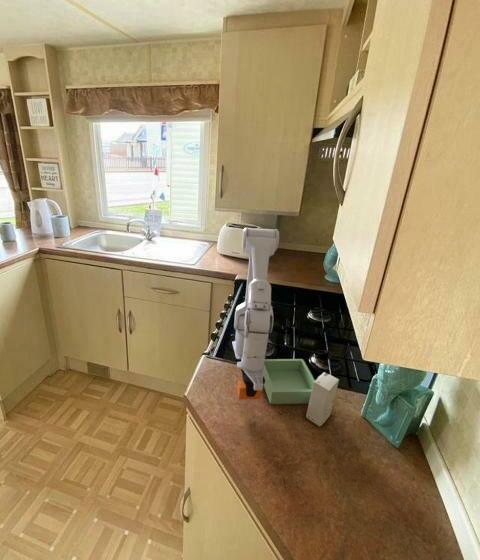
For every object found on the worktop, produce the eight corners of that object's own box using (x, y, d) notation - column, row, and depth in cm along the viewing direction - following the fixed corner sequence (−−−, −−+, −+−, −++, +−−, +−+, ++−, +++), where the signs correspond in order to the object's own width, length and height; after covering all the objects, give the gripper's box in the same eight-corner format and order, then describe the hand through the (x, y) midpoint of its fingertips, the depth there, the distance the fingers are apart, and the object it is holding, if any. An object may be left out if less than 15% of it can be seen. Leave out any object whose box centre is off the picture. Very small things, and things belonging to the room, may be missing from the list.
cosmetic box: (320, 427, 80) (330, 392, 75) (304, 417, 83) (312, 382, 78) (331, 414, 84) (341, 379, 79) (315, 404, 87) (324, 370, 82)
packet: (236, 391, 88) (237, 380, 86) (257, 391, 88) (259, 380, 86) (238, 399, 85) (239, 388, 83) (260, 399, 85) (262, 388, 83)
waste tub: (258, 370, 99) (260, 359, 97) (300, 370, 100) (302, 358, 98) (270, 404, 87) (272, 391, 85) (317, 403, 88) (321, 391, 86)
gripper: (234, 334, 86) (230, 372, 92) (244, 370, 73) (239, 412, 79) (259, 334, 87) (254, 372, 92) (274, 370, 74) (266, 411, 79)
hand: (249, 390), depth 86 cm, fingers closed on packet, 3 cm apart
